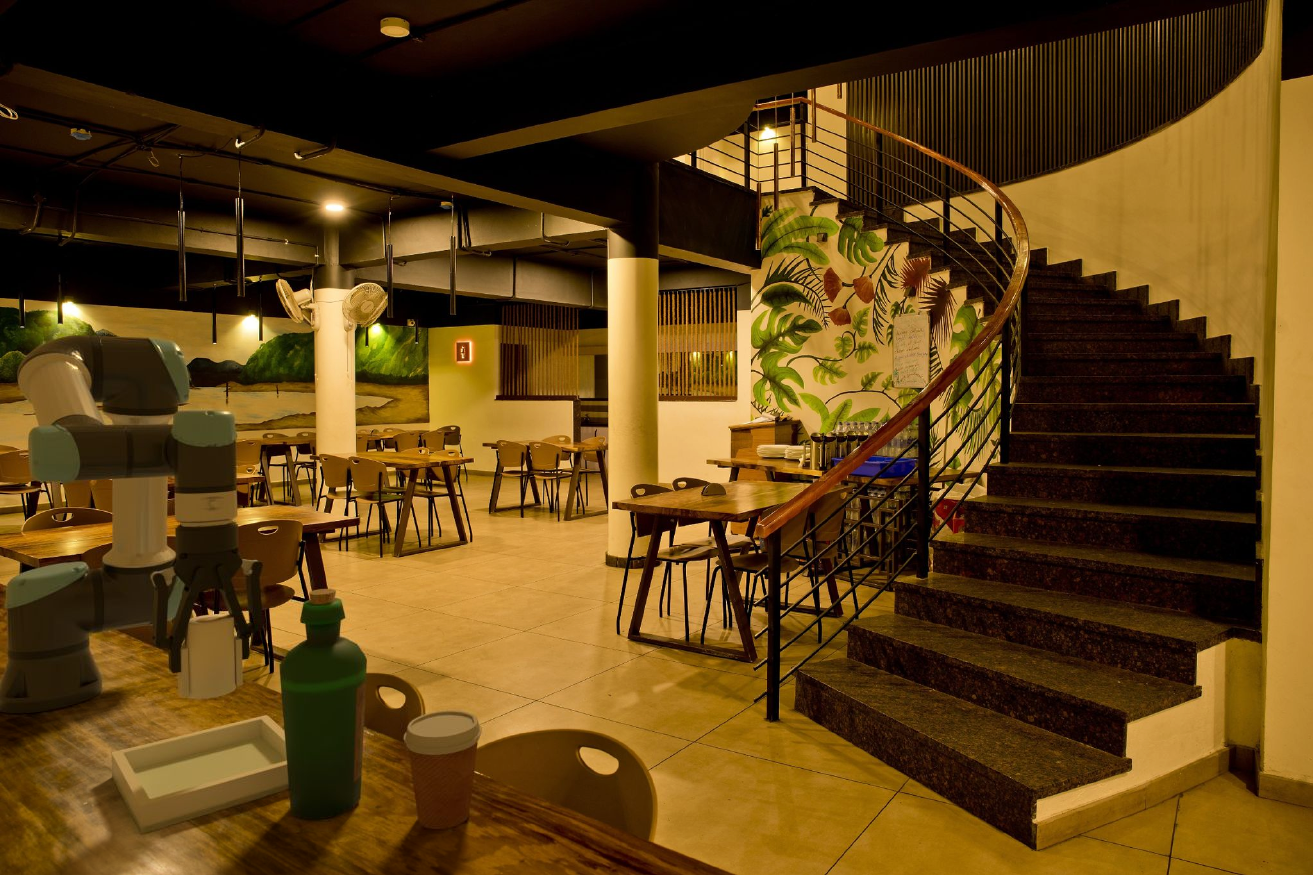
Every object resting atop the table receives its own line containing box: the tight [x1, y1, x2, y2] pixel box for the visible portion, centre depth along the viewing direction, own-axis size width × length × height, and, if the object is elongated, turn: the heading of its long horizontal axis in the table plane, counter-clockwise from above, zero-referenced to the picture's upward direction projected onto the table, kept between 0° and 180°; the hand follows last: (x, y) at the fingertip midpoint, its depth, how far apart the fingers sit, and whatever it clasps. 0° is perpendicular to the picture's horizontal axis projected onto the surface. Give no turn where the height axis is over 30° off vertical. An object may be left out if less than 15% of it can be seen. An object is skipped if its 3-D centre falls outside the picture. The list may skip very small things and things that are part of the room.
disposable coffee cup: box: [403, 710, 483, 830], centre depth 101 cm, size 10×10×12 cm
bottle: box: [279, 588, 368, 820], centre depth 104 cm, size 11×11×28 cm
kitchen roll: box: [184, 613, 237, 700], centre depth 111 cm, size 6×6×10 cm
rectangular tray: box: [111, 714, 289, 835], centre depth 112 cm, size 20×20×4 cm
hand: (210, 688), depth 111 cm, fingers closed on kitchen roll, 6 cm apart
